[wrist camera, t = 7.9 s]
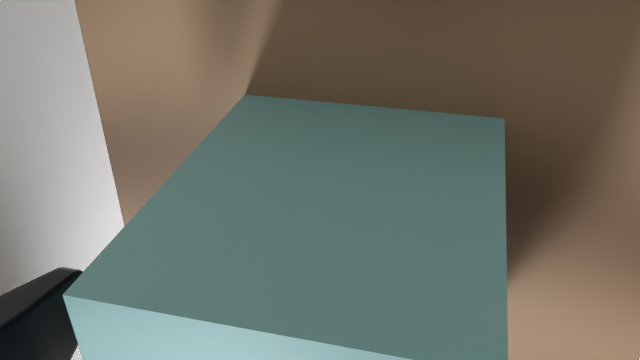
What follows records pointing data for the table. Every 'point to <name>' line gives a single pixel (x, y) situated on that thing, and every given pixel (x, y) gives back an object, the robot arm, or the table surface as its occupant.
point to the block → (312, 243)
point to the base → (423, 95)
